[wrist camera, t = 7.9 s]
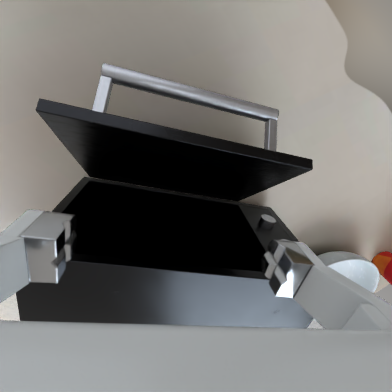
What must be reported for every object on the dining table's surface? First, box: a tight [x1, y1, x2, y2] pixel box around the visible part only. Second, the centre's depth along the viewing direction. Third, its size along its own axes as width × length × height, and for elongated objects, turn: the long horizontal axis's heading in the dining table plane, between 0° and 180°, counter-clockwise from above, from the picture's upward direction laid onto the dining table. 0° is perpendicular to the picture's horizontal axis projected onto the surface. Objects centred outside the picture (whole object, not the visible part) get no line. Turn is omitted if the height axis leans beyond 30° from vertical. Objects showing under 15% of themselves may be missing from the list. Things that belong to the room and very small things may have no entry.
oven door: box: [36, 63, 313, 201], centre depth 31 cm, size 7×27×20 cm
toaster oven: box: [16, 177, 314, 328], centre depth 39 cm, size 29×36×22 cm
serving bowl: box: [312, 251, 379, 321], centre depth 55 cm, size 21×21×7 cm
